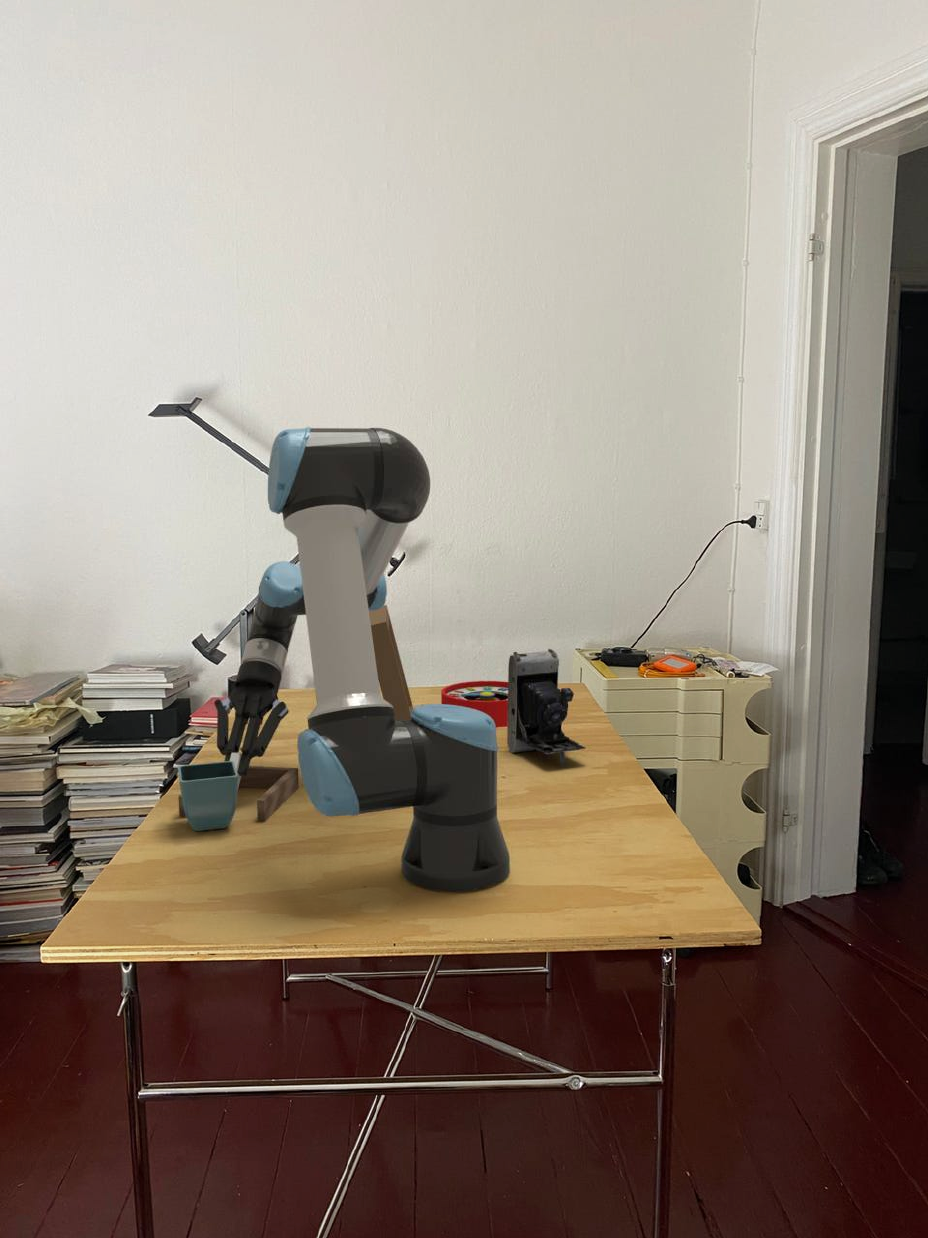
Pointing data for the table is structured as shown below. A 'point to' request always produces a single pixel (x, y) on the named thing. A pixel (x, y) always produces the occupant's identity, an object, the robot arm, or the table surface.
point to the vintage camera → (537, 705)
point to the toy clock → (480, 698)
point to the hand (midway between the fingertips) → (229, 792)
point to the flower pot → (209, 794)
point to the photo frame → (389, 664)
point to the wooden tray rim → (274, 778)
